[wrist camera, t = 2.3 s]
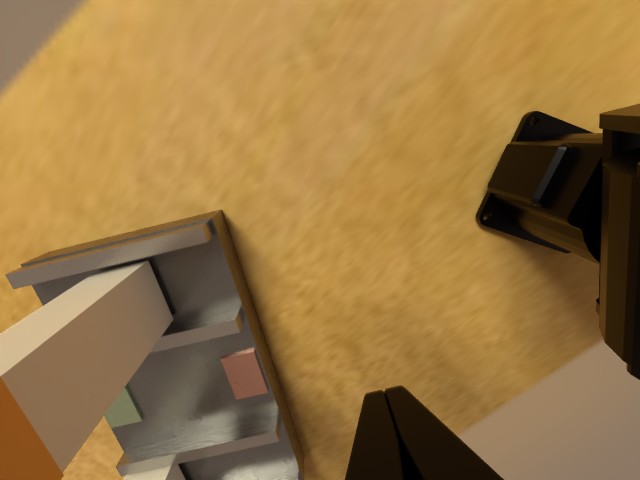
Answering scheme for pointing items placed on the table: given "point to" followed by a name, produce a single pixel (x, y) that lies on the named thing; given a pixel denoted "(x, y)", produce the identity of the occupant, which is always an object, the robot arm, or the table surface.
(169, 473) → the on lever
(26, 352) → the lever
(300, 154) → the table surface
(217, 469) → the box
